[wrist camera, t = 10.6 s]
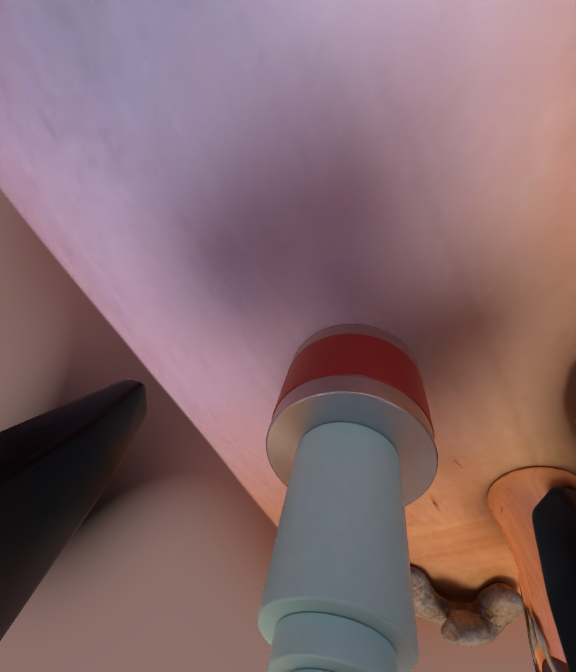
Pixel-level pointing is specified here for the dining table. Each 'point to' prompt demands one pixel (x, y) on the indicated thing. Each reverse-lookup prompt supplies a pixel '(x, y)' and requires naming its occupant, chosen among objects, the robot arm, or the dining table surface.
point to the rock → (467, 611)
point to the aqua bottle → (341, 560)
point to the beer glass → (530, 554)
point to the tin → (356, 400)
